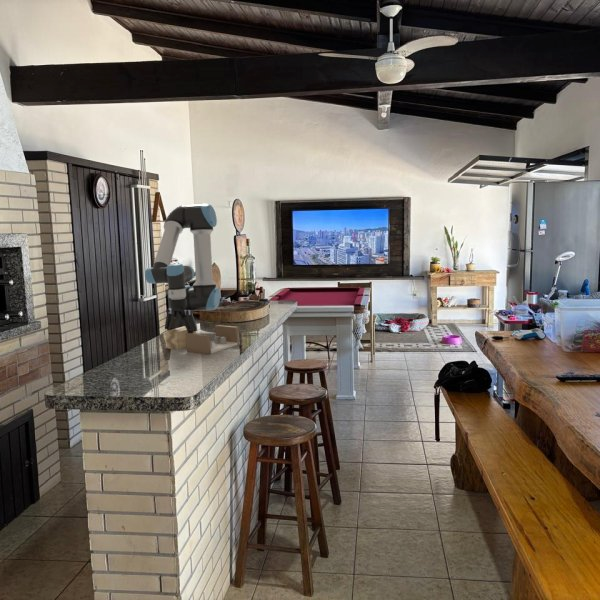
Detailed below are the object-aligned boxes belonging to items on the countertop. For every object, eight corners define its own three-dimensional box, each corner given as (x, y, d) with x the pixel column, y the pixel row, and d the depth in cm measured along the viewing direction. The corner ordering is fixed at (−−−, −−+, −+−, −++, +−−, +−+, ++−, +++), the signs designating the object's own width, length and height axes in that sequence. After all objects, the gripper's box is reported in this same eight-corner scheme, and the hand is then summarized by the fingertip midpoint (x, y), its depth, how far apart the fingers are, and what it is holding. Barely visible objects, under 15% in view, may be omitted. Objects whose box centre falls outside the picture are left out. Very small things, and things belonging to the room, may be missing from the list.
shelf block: (166, 348, 258) (165, 331, 256) (186, 342, 267) (184, 326, 266) (177, 349, 254) (176, 332, 252) (196, 344, 263) (195, 327, 262)
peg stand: (186, 351, 249) (185, 333, 248) (218, 341, 265) (217, 324, 264) (208, 354, 241) (207, 336, 240) (239, 344, 257) (238, 326, 256)
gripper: (154, 298, 261) (158, 345, 264) (190, 300, 247) (194, 349, 251) (166, 295, 267) (170, 341, 270) (202, 297, 253) (206, 345, 257)
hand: (181, 345), depth 260 cm, fingers open, 11 cm apart
